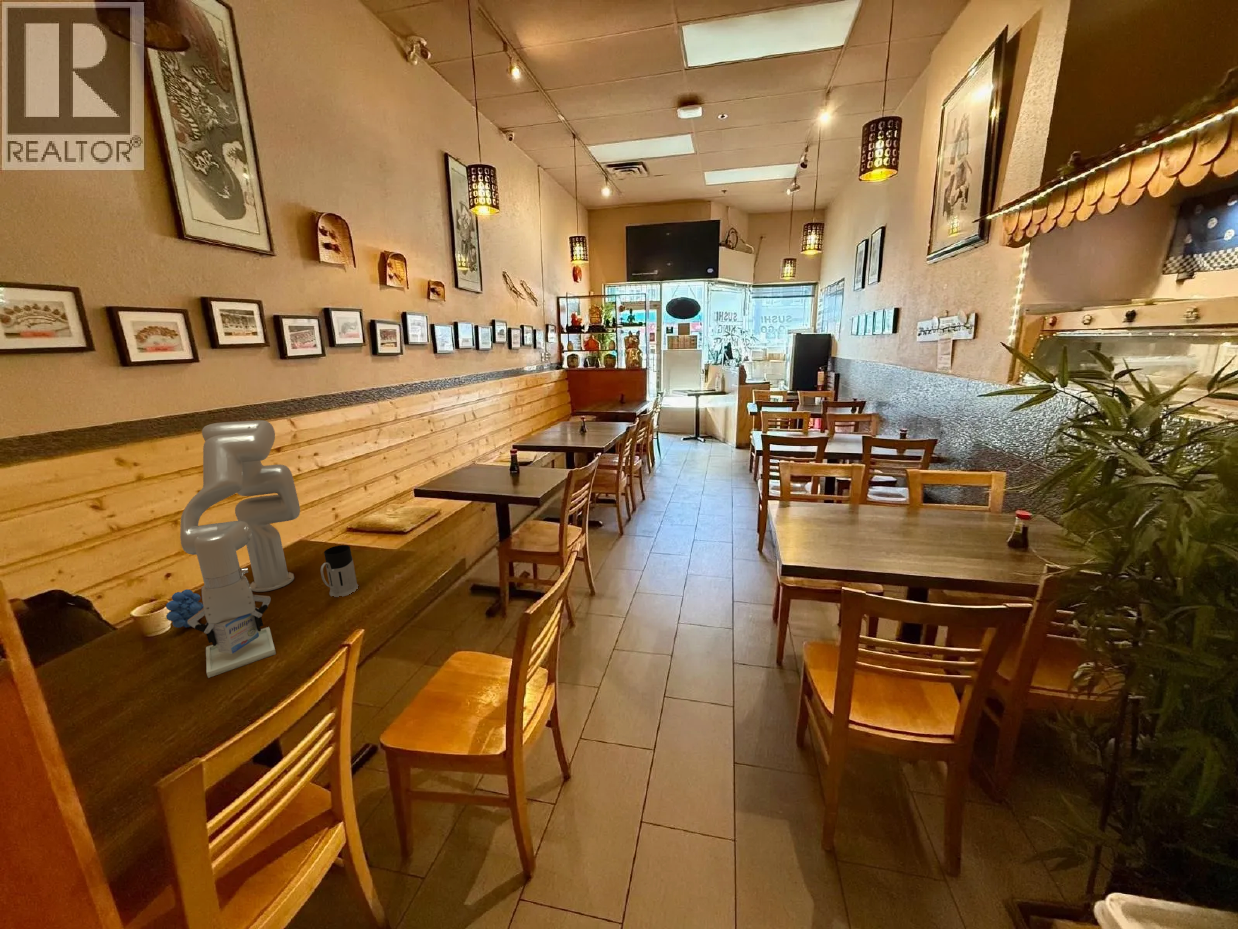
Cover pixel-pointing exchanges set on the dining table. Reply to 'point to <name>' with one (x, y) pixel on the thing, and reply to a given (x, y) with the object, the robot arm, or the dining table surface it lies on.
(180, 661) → the dining table surface
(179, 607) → the grapes
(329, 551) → the glass holder
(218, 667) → the tray
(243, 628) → the medicine box
